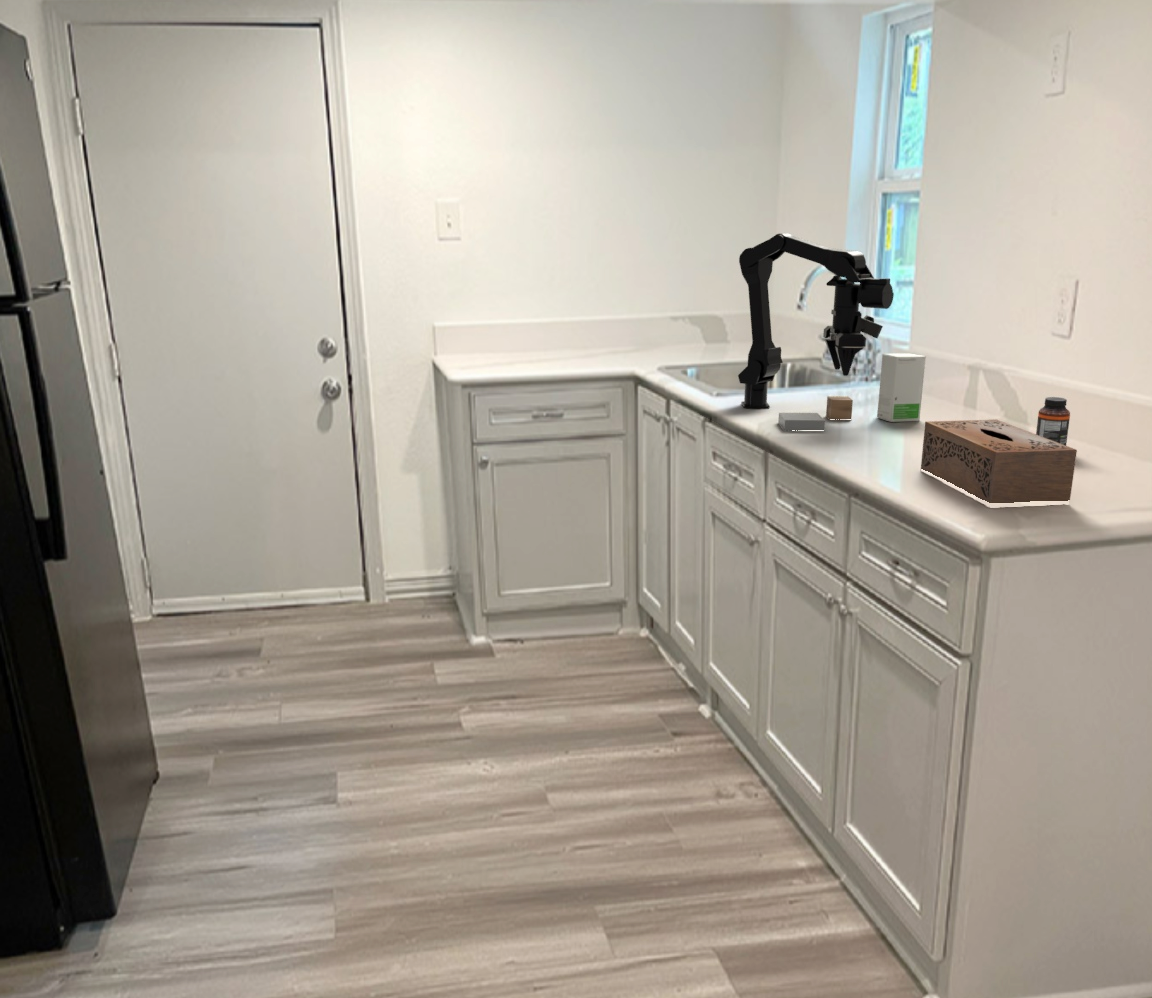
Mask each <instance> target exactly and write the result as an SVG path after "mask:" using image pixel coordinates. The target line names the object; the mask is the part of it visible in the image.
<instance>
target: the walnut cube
mask: <svg viewBox="0 0 1152 998" xmlns="http://www.w3.org/2000/svg"><path fill="white" fill-rule="evenodd" d="M853 403H854V400H853V398H851V397H850V396H847V395H845V396H844V395H843V396H835V395H831V396H829V395H827V396H826V409H825V410H826V411H825V412H826V413H825V417H826V416H827V417H828V418H829V419H835V420H834V421H841V420H840V419H851V420H852V415H853V414H852V413H853ZM827 417H826V418H827ZM828 418H827V419H828ZM829 419H828V420H829ZM836 419H837V420H836ZM838 419H839V420H838Z"/></svg>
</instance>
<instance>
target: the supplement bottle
mask: <svg viewBox="0 0 1152 998" xmlns="http://www.w3.org/2000/svg"><path fill="white" fill-rule="evenodd" d="M1067 402H1068V401H1067V399H1066V398H1065V397H1057V396H1056V397H1055V396H1048V397H1045V400H1044V406H1043V407H1041V408H1040V409H1039V410H1038V413H1037V414H1038V415H1037V422H1036V431H1035V432H1036V433H1035V434H1036V435H1039V436H1041V437H1044V438H1047V439H1049V440H1052V441H1055V442H1057V443H1060V444H1063V445H1065V446H1067V442H1068V434H1069V426H1070V417H1071V412H1070V410H1069V409H1068V408H1067V407H1066V406H1067Z"/></svg>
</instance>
